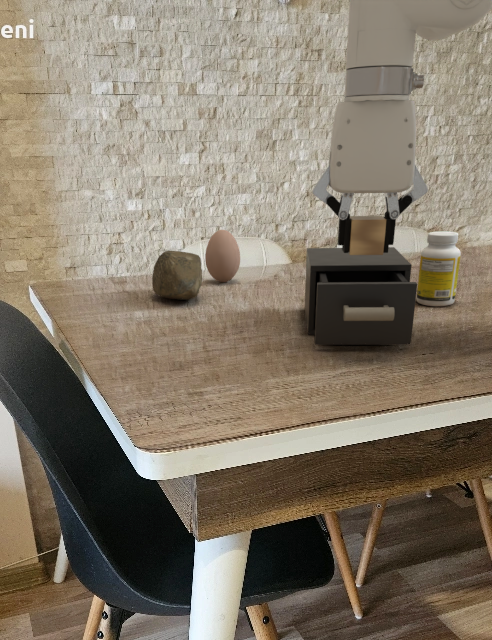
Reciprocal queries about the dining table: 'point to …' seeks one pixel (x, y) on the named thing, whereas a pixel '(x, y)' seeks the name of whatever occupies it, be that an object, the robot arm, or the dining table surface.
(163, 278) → the stone
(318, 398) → the dining table surface
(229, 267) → the egg
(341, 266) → the dark grey drawer unit
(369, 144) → the robot arm
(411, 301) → the pull-out drawer
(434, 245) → the pill bottle
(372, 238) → the block
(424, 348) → the dining table surface
